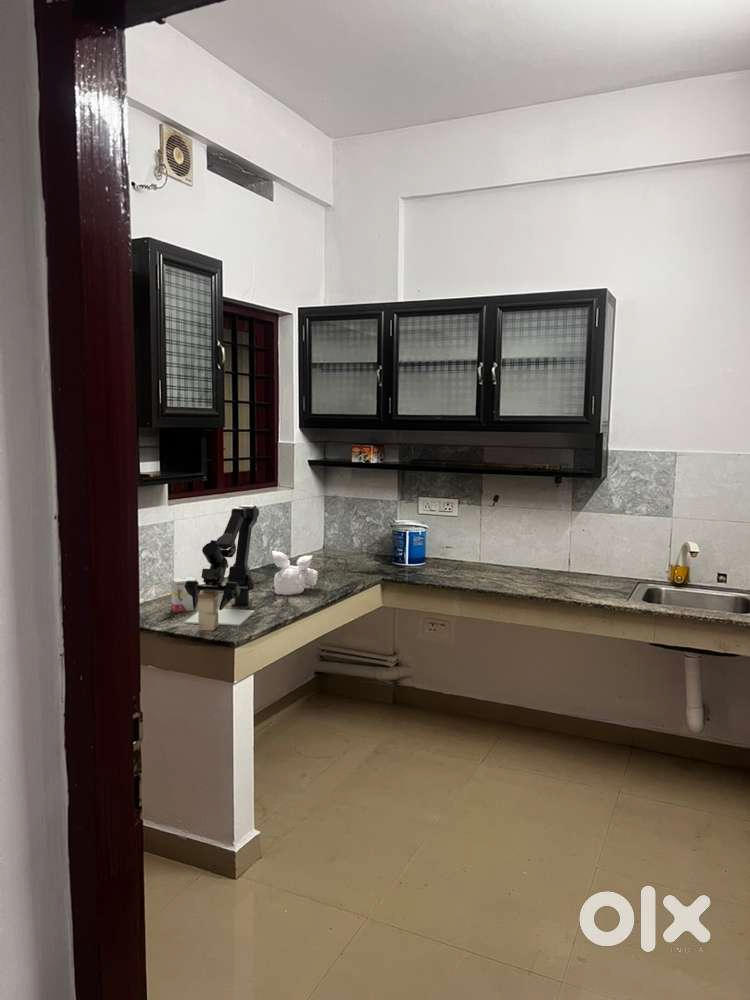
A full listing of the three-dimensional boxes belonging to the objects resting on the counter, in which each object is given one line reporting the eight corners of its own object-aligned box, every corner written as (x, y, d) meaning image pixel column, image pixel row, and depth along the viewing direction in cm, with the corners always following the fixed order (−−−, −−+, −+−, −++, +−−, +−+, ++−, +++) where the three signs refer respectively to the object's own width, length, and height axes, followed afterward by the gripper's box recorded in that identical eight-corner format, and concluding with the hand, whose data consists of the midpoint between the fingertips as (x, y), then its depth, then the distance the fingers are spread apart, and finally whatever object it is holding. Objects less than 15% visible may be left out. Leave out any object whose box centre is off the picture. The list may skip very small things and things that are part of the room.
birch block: (204, 624, 260) (204, 590, 259) (218, 625, 259) (217, 590, 258) (198, 629, 254) (198, 594, 253) (212, 630, 254) (212, 594, 252)
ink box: (174, 612, 276) (174, 581, 274) (171, 609, 280) (170, 578, 279) (197, 609, 280) (197, 579, 279) (193, 606, 284) (193, 576, 283)
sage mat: (203, 609, 280) (203, 608, 280) (254, 611, 278) (254, 610, 278) (184, 623, 261) (184, 621, 261) (239, 625, 259) (239, 624, 259)
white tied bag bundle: (263, 575, 299) (274, 542, 314) (268, 609, 311) (278, 576, 327) (309, 579, 297) (318, 546, 313) (312, 613, 310) (320, 580, 325)
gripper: (185, 558, 259) (174, 596, 250) (237, 559, 257) (227, 598, 247) (194, 575, 268) (183, 612, 258) (244, 577, 266) (235, 615, 256)
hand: (207, 609), depth 255 cm, fingers open, 9 cm apart
